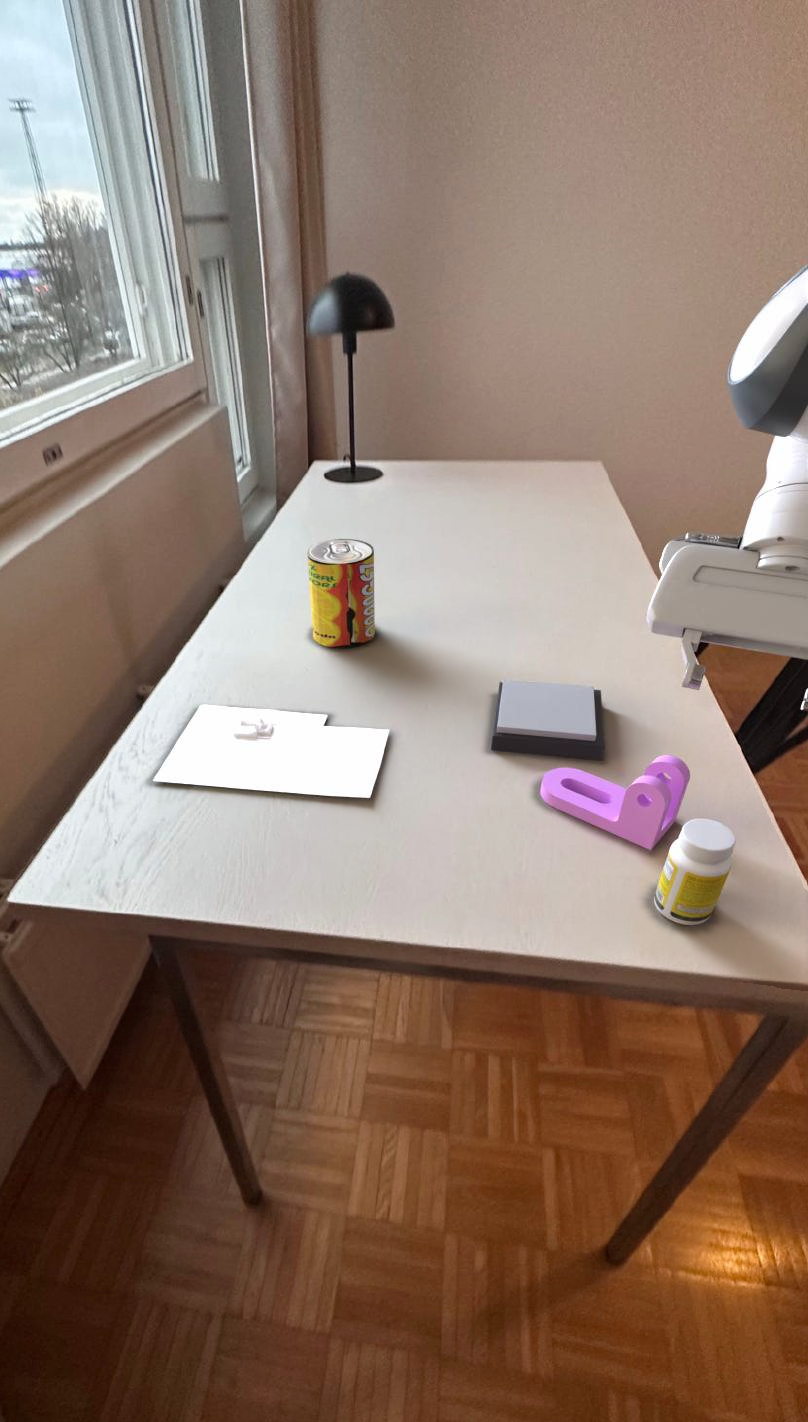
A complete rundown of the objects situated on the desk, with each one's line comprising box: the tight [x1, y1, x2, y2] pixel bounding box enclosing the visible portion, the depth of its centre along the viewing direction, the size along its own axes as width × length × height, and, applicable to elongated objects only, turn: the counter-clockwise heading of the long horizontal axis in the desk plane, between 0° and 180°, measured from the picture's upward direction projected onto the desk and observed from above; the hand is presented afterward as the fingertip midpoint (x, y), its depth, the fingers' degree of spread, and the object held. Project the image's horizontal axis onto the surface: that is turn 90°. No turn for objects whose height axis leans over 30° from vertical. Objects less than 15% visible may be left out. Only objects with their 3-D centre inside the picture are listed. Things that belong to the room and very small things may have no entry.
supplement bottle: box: [653, 818, 737, 926], centre depth 61 cm, size 5×5×8 cm
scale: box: [490, 679, 606, 761], centre depth 85 cm, size 12×12×3 cm
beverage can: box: [306, 538, 376, 649], centre depth 102 cm, size 9×9×12 cm
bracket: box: [539, 754, 691, 851], centre depth 72 cm, size 13×6×7 cm, turn 48°
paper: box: [152, 704, 390, 799], centre depth 84 cm, size 25×17×1 cm
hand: (749, 698), depth 63 cm, fingers open, 8 cm apart
